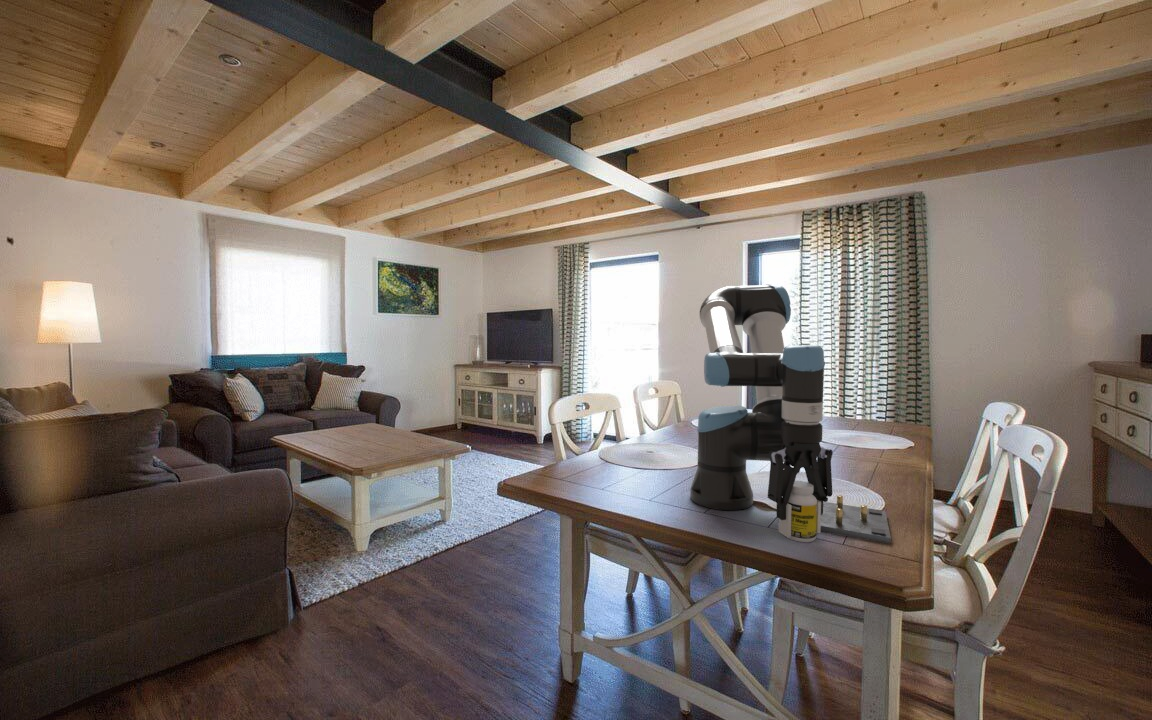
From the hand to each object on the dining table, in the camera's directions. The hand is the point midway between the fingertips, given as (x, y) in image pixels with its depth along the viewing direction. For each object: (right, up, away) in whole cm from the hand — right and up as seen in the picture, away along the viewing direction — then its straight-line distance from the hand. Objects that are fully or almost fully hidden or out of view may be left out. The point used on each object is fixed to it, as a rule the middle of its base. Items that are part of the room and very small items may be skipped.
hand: (799, 531), depth 97 cm
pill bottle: (0, -1, 0) cm, 1 cm away
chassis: (+13, 0, +8) cm, 15 cm away
